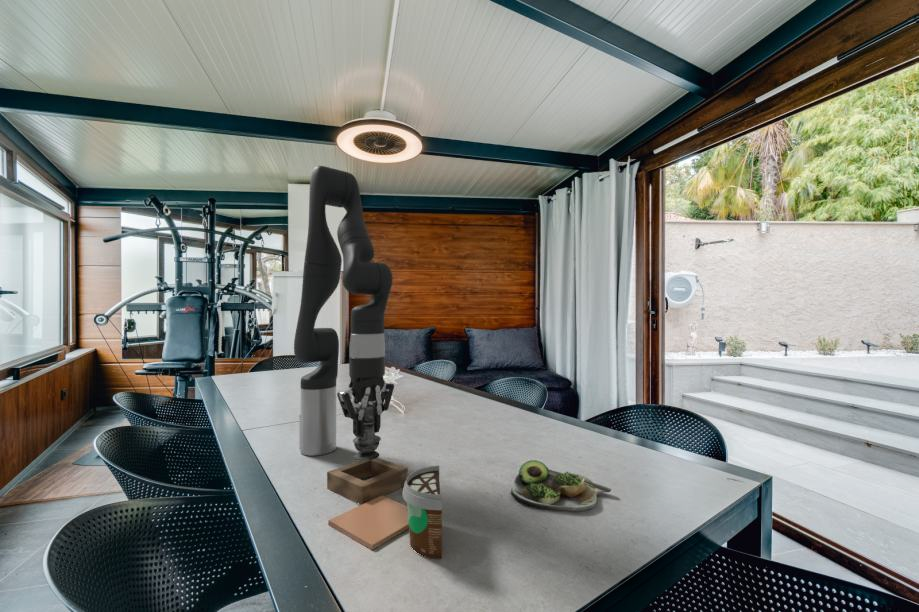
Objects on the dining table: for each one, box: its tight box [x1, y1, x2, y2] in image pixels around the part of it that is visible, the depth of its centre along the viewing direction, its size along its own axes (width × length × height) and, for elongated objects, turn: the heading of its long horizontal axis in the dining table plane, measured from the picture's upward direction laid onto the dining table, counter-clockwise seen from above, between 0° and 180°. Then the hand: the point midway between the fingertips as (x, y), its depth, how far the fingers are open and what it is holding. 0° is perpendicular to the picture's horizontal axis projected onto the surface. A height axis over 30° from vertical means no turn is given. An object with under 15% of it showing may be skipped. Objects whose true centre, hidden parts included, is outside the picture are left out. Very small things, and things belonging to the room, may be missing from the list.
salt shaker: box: [352, 402, 382, 461], centre depth 85 cm, size 6×6×12 cm
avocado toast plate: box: [510, 459, 612, 512], centre depth 81 cm, size 19×18×5 cm
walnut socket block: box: [326, 457, 409, 506], centre depth 84 cm, size 12×12×4 cm
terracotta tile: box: [328, 495, 409, 550], centre depth 70 cm, size 12×12×1 cm
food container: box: [402, 465, 443, 560], centre depth 64 cm, size 12×6×10 cm, turn 5°
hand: (366, 433), depth 85 cm, fingers closed on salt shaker, 3 cm apart
